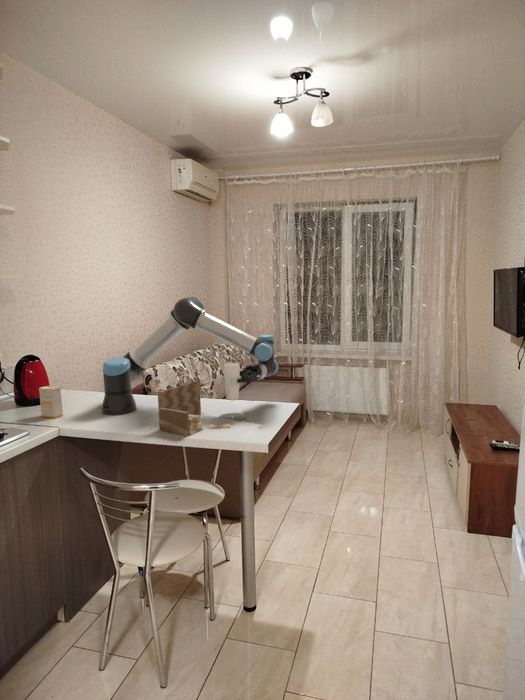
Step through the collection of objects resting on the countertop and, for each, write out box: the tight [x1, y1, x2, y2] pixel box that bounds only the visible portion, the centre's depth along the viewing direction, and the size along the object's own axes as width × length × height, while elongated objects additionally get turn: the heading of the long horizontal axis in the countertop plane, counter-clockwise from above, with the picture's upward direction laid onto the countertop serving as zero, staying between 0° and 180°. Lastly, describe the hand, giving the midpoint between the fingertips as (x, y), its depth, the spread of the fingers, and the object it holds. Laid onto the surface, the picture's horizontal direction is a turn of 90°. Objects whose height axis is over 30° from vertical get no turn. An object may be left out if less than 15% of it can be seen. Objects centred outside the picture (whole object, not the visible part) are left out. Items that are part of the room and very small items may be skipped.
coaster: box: [218, 412, 246, 422], centre depth 202 cm, size 11×11×1 cm
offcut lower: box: [189, 421, 203, 436], centre depth 181 cm, size 7×6×3 cm
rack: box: [157, 380, 204, 437], centre depth 188 cm, size 24×15×16 cm, turn 148°
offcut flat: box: [209, 423, 231, 429], centre depth 186 cm, size 8×4×2 cm, turn 94°
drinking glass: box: [223, 362, 241, 401], centre depth 200 cm, size 7×7×15 cm
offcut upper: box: [188, 414, 201, 426], centre depth 180 cm, size 6×5×2 cm
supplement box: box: [38, 385, 64, 419], centre depth 208 cm, size 8×5×13 cm, turn 65°
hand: (224, 381), depth 195 cm, fingers closed on drinking glass, 6 cm apart
